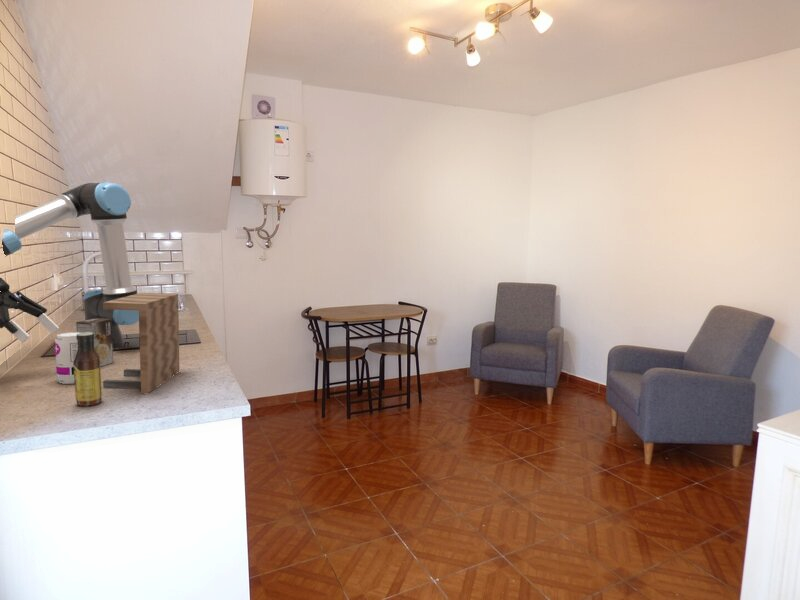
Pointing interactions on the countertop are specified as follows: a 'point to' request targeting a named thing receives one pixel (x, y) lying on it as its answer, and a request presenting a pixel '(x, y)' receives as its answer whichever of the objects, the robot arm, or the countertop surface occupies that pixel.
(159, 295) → the overhang shelf
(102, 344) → the coffee box
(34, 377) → the countertop surface
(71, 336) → the supplement can
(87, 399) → the sauce bottle
